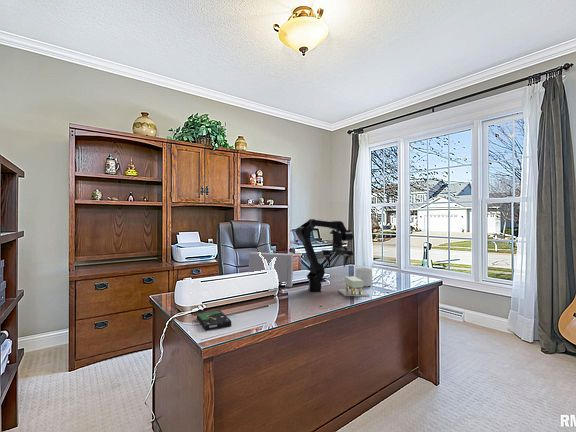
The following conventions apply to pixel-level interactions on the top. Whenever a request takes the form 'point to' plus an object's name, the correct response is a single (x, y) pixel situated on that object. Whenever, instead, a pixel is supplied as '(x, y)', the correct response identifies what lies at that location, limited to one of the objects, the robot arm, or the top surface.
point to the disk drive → (213, 320)
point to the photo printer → (364, 275)
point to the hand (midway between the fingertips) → (336, 266)
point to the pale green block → (354, 281)
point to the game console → (281, 265)
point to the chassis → (353, 291)
